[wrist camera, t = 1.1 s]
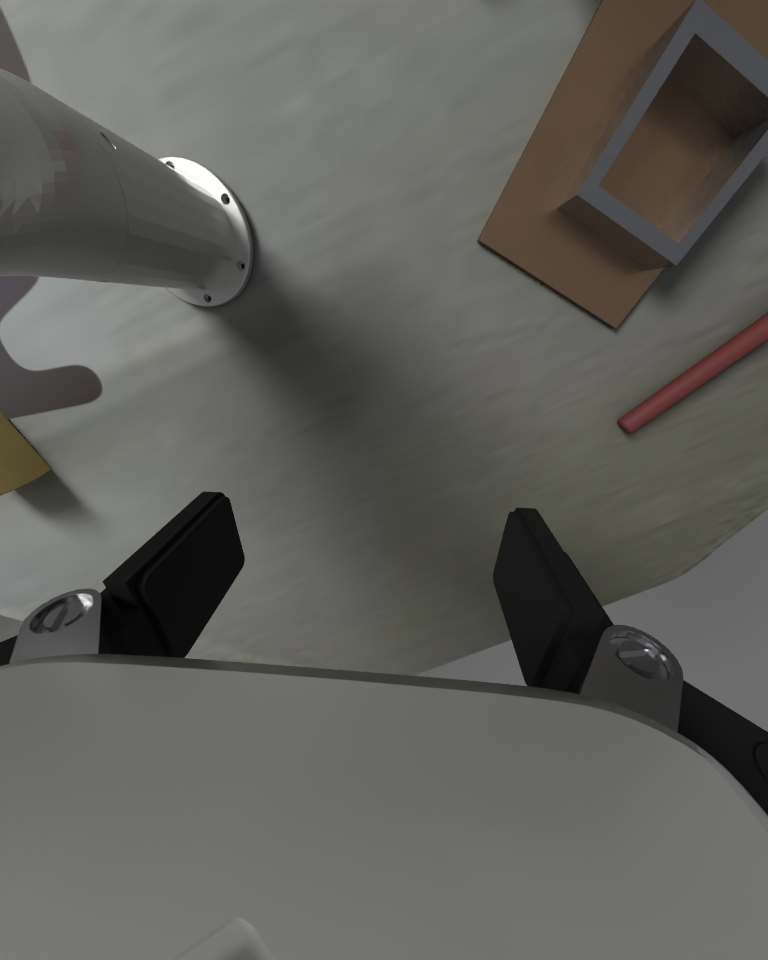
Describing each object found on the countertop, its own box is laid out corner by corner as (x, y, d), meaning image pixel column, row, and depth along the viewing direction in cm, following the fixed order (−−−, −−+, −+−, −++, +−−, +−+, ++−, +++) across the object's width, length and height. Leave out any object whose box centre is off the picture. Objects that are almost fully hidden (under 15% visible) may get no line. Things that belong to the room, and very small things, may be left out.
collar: (476, 241, 32) (487, 231, 28) (656, -104, 22) (713, -201, 18) (612, 328, 35) (639, 330, 31) (824, 56, 25) (907, 6, 21)
